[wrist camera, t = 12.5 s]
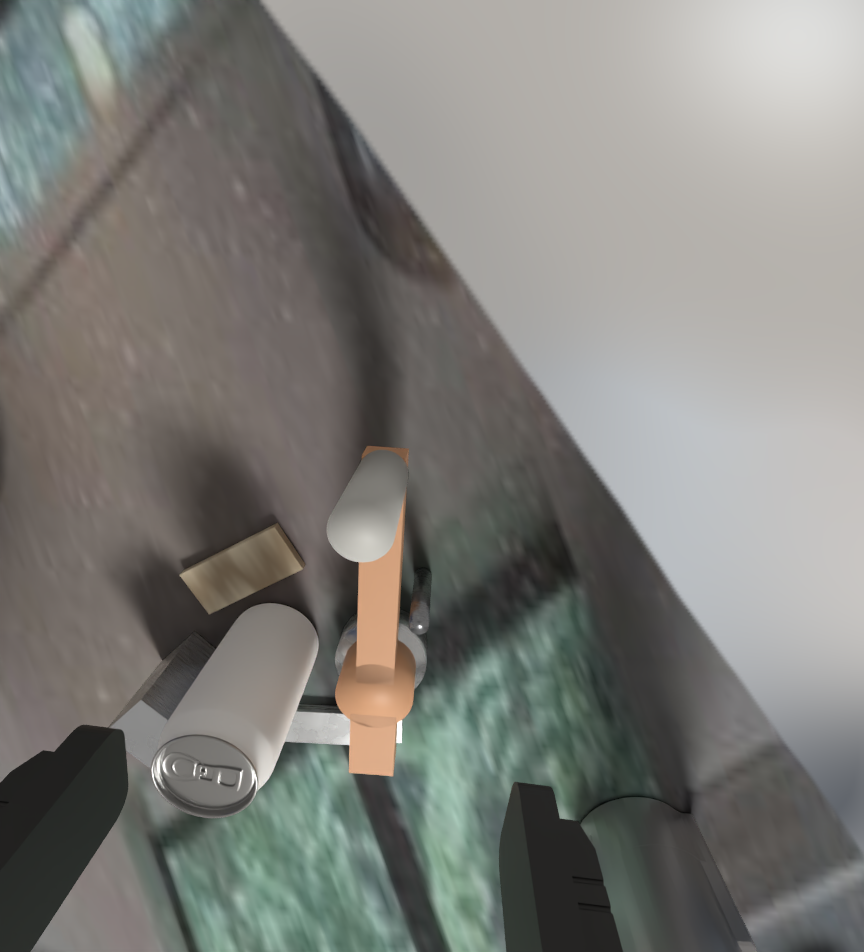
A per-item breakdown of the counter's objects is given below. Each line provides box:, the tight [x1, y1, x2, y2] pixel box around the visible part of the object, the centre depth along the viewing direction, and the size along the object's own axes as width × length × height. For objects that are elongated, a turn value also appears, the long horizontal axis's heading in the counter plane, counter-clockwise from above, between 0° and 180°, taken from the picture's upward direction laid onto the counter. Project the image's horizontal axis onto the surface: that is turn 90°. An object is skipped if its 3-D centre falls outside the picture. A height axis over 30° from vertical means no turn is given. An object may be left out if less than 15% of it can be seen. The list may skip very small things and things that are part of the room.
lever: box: [327, 446, 416, 776], centre depth 29 cm, size 23×5×10 cm, turn 176°
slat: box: [180, 523, 305, 614], centre depth 36 cm, size 4×1×8 cm
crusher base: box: [108, 568, 432, 769], centre depth 35 cm, size 20×15×7 cm
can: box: [151, 603, 319, 818], centre depth 32 cm, size 6×6×12 cm
